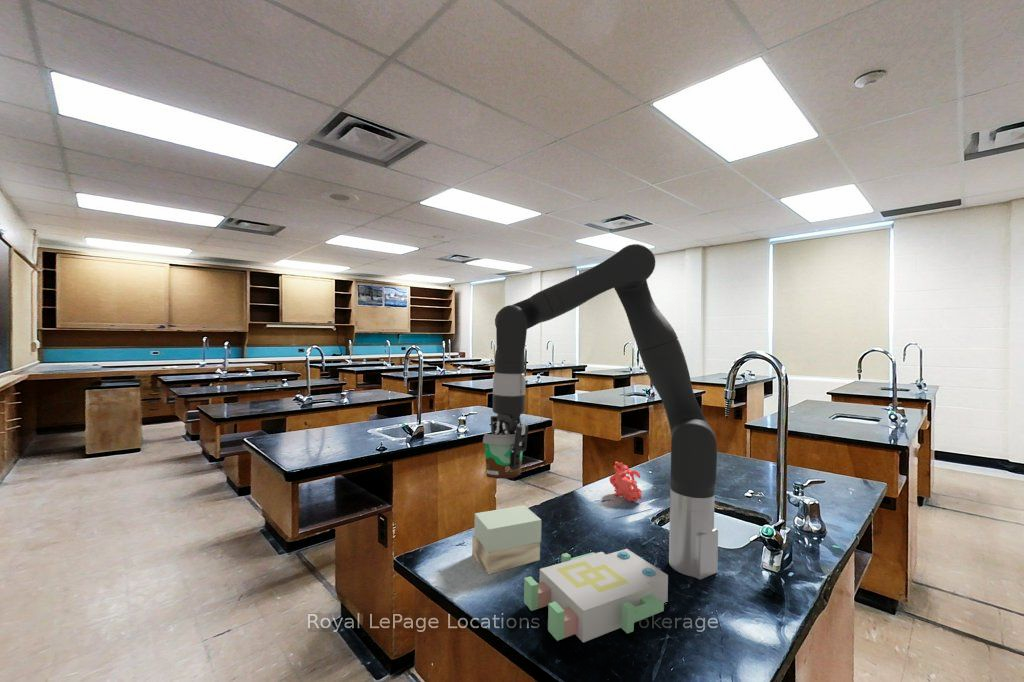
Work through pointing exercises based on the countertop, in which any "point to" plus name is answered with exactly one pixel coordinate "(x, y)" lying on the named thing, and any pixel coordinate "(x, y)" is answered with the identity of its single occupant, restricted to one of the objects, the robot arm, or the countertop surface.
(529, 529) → the tower top block
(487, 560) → the tower base block
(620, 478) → the anatomical heart
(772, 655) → the countertop surface
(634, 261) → the robot arm
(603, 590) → the decorative block
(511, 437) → the food container
